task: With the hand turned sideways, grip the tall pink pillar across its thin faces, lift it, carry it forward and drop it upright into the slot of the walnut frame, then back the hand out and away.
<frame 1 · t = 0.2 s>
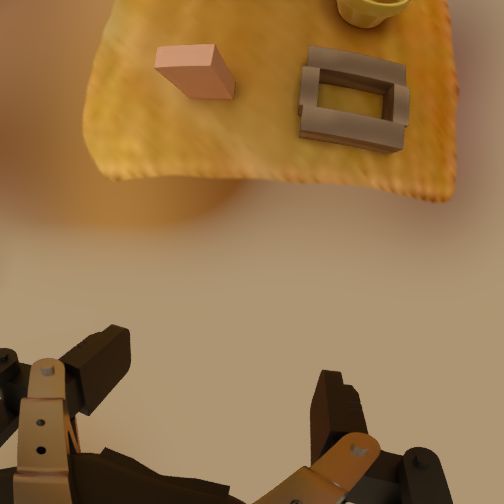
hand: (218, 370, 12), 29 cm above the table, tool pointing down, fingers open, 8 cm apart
tall pink pillar: (212, 90, 37), on the table
plant pot: (360, 12, 32), on the table
walnut frame: (349, 105, 35), on the table
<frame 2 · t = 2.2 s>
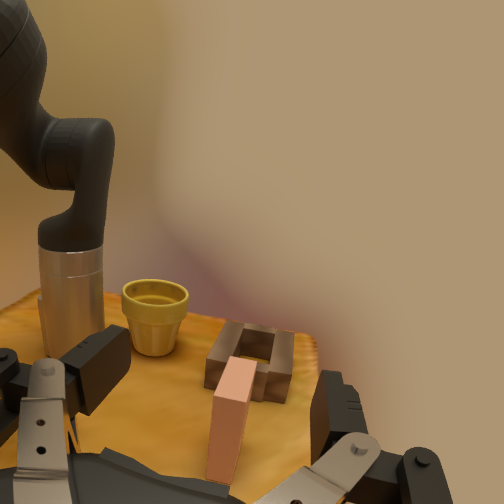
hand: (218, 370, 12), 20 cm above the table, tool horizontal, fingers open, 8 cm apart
tall pink pillar: (224, 461, 27), on the table
plant pot: (154, 346, 47), on the table
walnut frame: (250, 372, 44), on the table
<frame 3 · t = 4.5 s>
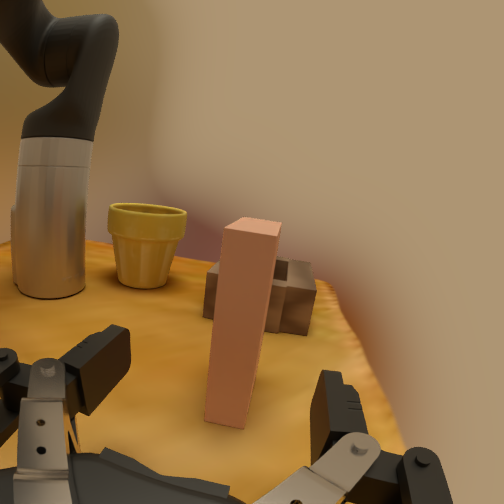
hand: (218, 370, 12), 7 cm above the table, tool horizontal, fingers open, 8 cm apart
tall pink pillar: (232, 397, 20), on the table
plant pot: (143, 281, 40), on the table
walnut frame: (260, 306, 37), on the table
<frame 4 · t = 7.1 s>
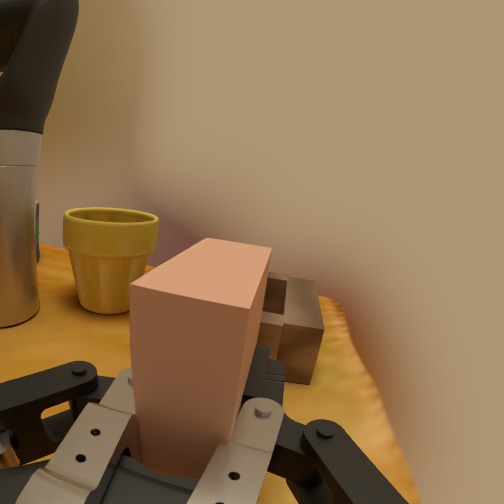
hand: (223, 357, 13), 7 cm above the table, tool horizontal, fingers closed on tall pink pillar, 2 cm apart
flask: (30, 262, 38), on the table
tall pink pillar: (199, 495, 11), on the table, touching gripper
plant pot: (109, 303, 32), on the table
walnut frame: (250, 339, 29), on the table
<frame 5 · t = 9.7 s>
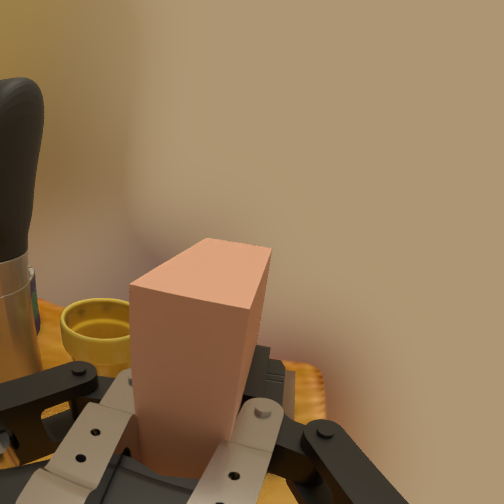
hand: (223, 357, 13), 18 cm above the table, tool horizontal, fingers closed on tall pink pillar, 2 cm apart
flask: (32, 329, 39), on the table
tall pink pillar: (199, 495, 11), point 11 cm above the table, touching gripper
plant pot: (110, 386, 33), on the table
walnut frame: (235, 426, 30), on the table
when the fingers open (12 cm above the table, at t = 12.7 s): tall pink pillar drops 5 cm, resting in walnut frame.
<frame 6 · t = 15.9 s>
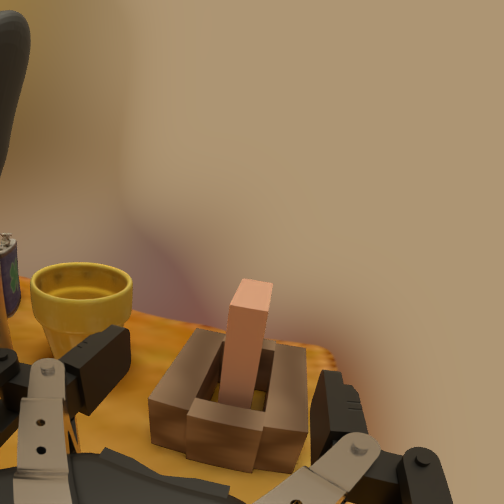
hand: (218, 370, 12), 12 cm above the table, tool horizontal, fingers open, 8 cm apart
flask: (11, 306, 35), on the table
tall pink pillar: (235, 414, 25), resting in walnut frame
plant pot: (87, 365, 28), on the table
walnut frame: (233, 414, 25), on the table
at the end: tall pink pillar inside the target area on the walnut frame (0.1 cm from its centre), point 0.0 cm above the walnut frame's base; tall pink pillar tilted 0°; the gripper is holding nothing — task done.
